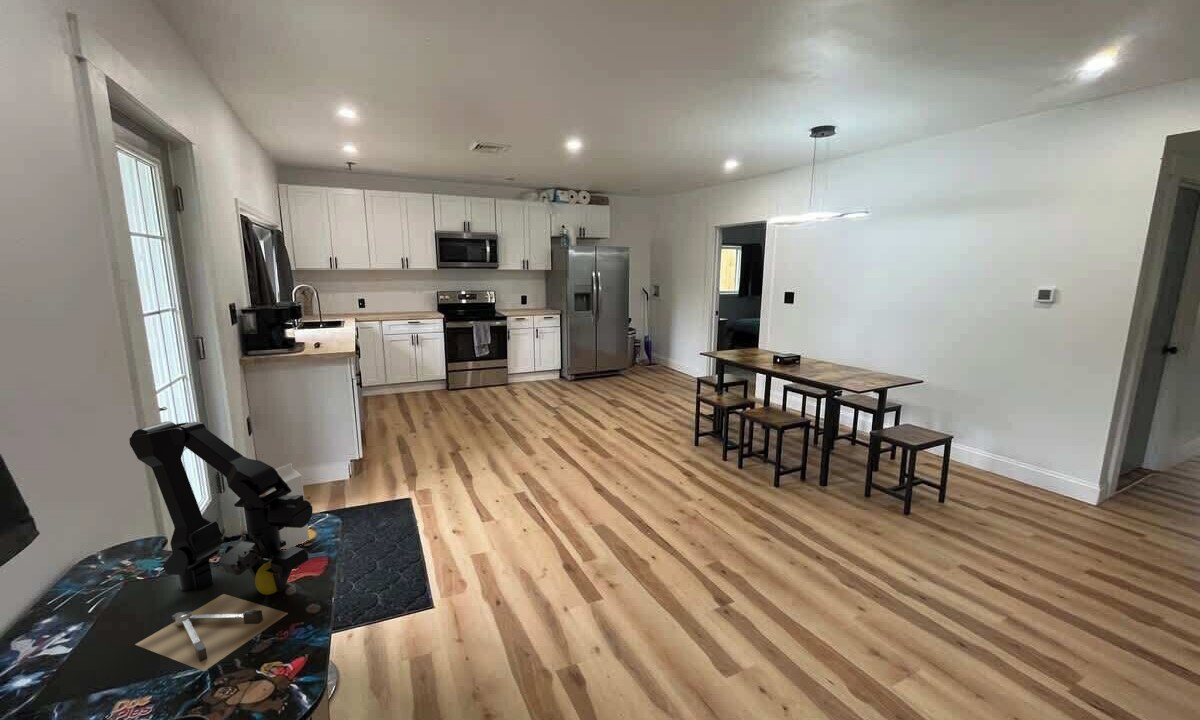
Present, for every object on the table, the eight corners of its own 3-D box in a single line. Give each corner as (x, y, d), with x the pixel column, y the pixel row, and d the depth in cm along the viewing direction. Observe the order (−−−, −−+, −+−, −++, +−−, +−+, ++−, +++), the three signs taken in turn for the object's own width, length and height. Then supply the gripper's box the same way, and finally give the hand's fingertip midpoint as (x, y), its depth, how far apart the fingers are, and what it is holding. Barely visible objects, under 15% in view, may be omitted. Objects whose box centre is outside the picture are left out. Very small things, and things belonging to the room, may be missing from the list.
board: (136, 650, 92) (134, 644, 92) (224, 598, 107) (223, 593, 107) (204, 677, 86) (203, 671, 85) (289, 618, 101) (288, 613, 100)
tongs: (142, 640, 93) (140, 630, 93) (208, 602, 104) (206, 593, 104) (201, 662, 87) (199, 651, 87) (264, 620, 98) (262, 610, 98)
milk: (273, 548, 128) (261, 469, 124) (293, 537, 133) (283, 461, 130) (290, 552, 126) (279, 472, 122) (310, 540, 132) (300, 463, 128)
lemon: (272, 604, 105) (267, 570, 104) (251, 601, 106) (246, 568, 105) (293, 588, 111) (288, 556, 109) (272, 585, 112) (268, 554, 110)
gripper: (193, 535, 101) (204, 602, 104) (255, 550, 95) (265, 621, 98) (247, 511, 112) (256, 573, 114) (306, 523, 105) (314, 588, 108)
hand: (271, 588), depth 108 cm, fingers closed on lemon, 5 cm apart
